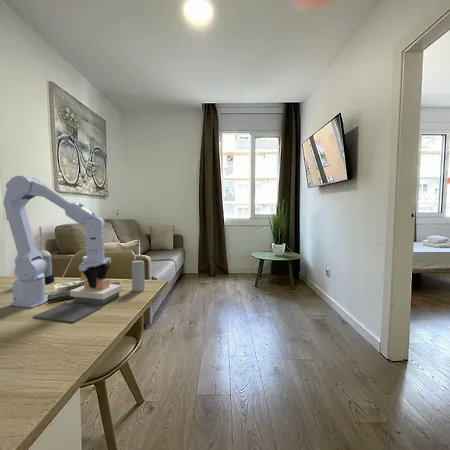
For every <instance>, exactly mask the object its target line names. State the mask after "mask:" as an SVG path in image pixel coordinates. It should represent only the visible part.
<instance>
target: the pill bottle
mask: <svg viewBox="0 0 450 450" xmlns="http://www.w3.org/2000/svg"><path fill="white" fill-rule="evenodd" d="M85 262H87V255H85V256H82V262H81V263H80V265H81V264H83V263H85ZM80 279H81V280H80V282H81V281H83V280H86V279H87V278H86V276H85V275H84V273H83V272H82V271H80Z"/></svg>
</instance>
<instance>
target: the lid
mask: <svg viewBox="0 0 450 450" xmlns="http://www.w3.org/2000/svg"><path fill="white" fill-rule="evenodd" d="M122 291H123V285H122V284H116V283H115V284H114V283H113V284H112V283H110V279H109V278H105V279H100V278H97V282H96V288H90V286H89V283H88V280H87V279H86V280H84V283H83V285H81V286H78V287H76V288H74V289H70V290H69V297H73V298H74V297H83V298H93V299H102V300H103V299H105V298H107V297H109V296H111V295H113V294H115V293H117V292H119V293H120V292H122Z"/></svg>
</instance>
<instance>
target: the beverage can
mask: <svg viewBox="0 0 450 450" xmlns="http://www.w3.org/2000/svg"><path fill="white" fill-rule="evenodd" d="M145 283H146V281H145V261H144V260H142V259H140V260H139V259H138V260H137V259H136V260H133V261H131V287H132V288H131V290H132V291H133V292H134V293H141V292H143V291H144V290H145V288H146V287H145Z"/></svg>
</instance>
